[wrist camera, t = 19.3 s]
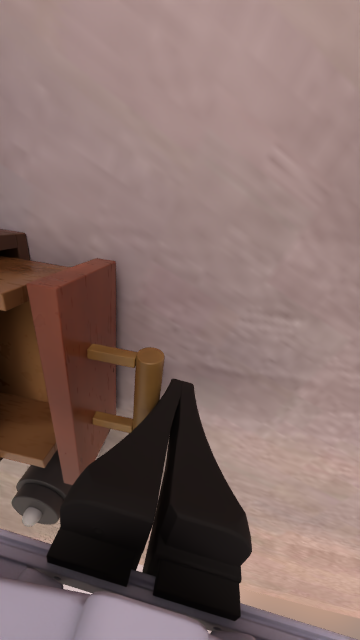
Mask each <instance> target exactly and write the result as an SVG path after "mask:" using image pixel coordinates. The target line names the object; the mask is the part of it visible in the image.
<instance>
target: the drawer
mask: <svg viewBox="0 0 360 640" xmlns="http://www.w3.org/2000/svg"><path fill="white" fill-rule="evenodd" d="M116 364H117V365H122V366H127V367H132V368H135V366H136V370H135V391H134V412H133V419H131V418H126V417H122V416H117V415H116ZM163 366H164V354H163V352H162V351H161V350H159V349H157V348H151V347H148V348H143V349H141V350H139V351H138V352H133V351H128V350H123V349H118V348H116V262H115V261H110V260H104V259H98V258H96V259H93V260H90V261H88V262H85V263H82V264H79V265H76V266H74V267H65V266H59V265H53V264H47V263H41V262H35V261H30V260H24V259H18V258H12V257H6V256H0V457H1V458H5V459H9V460H14V461H18V462H22V463H26V464H30V465H34V466H38V467H42V468H45V467H46V465H47V464H48V462H49V461H50V459H51V458H52V456H53V455H54V454H55V452H56V451H57V449H58V454H59V459H60V465H61V470H62V475H63V480H64V483H66V484H70V485H73V484H74V482H75V481H76V480H77V478H78V477H79V476H80V474H81V473H82V472H83V471H84V470H85V468H86V467H87V466H88V465H89V464H91V463H92V462H94V461H95V459H96V457H97V455H98V453H99V451H100V449H101V447H102V445H103V443H104V441H105V439H106V437H107V435H108V433H109V431H110V429H114V430H119V431H123V432H128V433H130V432H132V431H133V430H134V429H135V428H136V427H137V426H138V425H139V424H140V423H141V422H142V421H143V420H144V419H145V417H146V416H147V415H148V414H149V413H150V412H151V410H152V409H153V408H154V407H155V406H156V404H157V403H158V402H159V400H160V391H161V383H162V374H163Z"/></svg>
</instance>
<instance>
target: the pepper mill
mask: <svg viewBox="0 0 360 640" xmlns="http://www.w3.org/2000/svg"><path fill="white" fill-rule="evenodd" d="M71 487H72V485H70V484H66V483H64V480H63V475H62V470H61V465H60V459H59V454H58V449H57V451H56V452H55V454H54V455H53V456H52V458H51V459H50V461H49V462H48V464H47V465H46V467H45V468H42V467H38V466H34V465H31V466H30V467H29V468H28V470H27V471H26V472H25V474H24V475H23V476H22V478H21V479H20V480H19V482H18V483H17V486H16V488H17V491H18V492H17V494H16V495H15V497H14V498H13V500H12V506H13V507H14V509H15V510H16V511H17V512H18V513H19V514H20V515H22V516H23V517H22V521H23V524H24V525H25V526H28V527H29V526H33V525H35V524H36V523H41V524H54V523H56V522H57V521H58V520H59V518H60V507H61V505H62V503H63V501H64V499H65V497H66V495H67V493H68V492H69V490H70V488H71Z"/></svg>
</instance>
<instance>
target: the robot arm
mask: <svg viewBox="0 0 360 640" xmlns="http://www.w3.org/2000/svg"><path fill="white" fill-rule="evenodd" d="M169 435H170V436H169ZM168 440H169V444H168ZM167 445H168V452H167V459H166V466H165V472H164V476H163V481H162V486H161V490H160V484H161V479H162V473H163V467H164V462H165V456H166V451H167ZM159 490H160V495H159ZM158 496H159V500H158ZM157 503H158V504H157ZM156 508H157V509H156ZM155 512H156V513H155ZM154 517H155V518H154ZM60 524H61V527H60V529H59V531H58V533H57V535H56V537H55V539H54V541H53V543H52V544H49V543H45V542H42V541H39V540H36V539H32V538H29V537H26V536H23V535H20V534H16V533H13V532H10V531H7V530H3V529H0V640H357V639H354V638H351V637H348V636H345V635H341V634H338V633H335V632H332V631H329V630H325V629H322V628H319V627H316V626H312V625H309V624H305V623H303V622H299V621H296V620H293V619H290V618H287V617H283V616H280V615H277V614H274V613H271V612H267V611H264V610H261V609H257V608H254V607H251V606H248V605H245V604H242V603H240V592H239V583H240V582H241V565H242V564H243V563H244V562H245V561H246V559H247V558H248V557H249V556H250V554H251V552H252V544H251V536H250V531H249V526H248V522H247V517H246V514H245V512H244V510H243V508H242V507H241V505H240V504H239V502H238V501H237V499H236V497H235V496H234V494H233V492H232V491H231V489H230V487H229V485H228V483H227V482H226V480H225V478H224V476H223V474H222V472H221V470H220V468H219V466H218V464H217V462H216V460H215V458H214V456H213V453H212V451H211V449H210V446H209V444H208V441H207V439H206V436H205V433H204V430H203V427H202V424H201V420H200V417H199V413H198V409H197V405H196V399H195V393H194V385H193V384H192V383H188V382H184V381H181V380H177V379H171V382H170V384H169V386H168V388H167V390H166V391H165V393H164V395H163V396H162V397H161V399H160V400H159V402H158V403H157V404H156V406H155V407H154V408H153V409H152V410H151V412H150V413H149V414H148V415H147V416H146V417H145V419H144V420H143V421H142V422H141V423H140V424H139V425H138V426H137V427H136V428H135V429H134V430H133V431H132V432H130V433H129V434H128V435H127V436H126V437H125V438H124V439H123V440H121V441H120V442H119V443H118V444H116V445H115V446H114V447H113V448H112V449H110V450H109V451H108V452H106V453H105V454H104V455H102V456H101V457H99V458H98V459H96V460H95V461H94V462H92V463H91V464H89V465H88V466H87V467H86V468H85V470H84V471H83V472H82V473H81V474H80V476H79V477H78V478H77V480H76V481H75V482H74V484H73V485H72V487H71V488H70V490H69V492H68V493H67V495H66V497H65V499H64V501H63V503H62V505H61V507H60ZM152 525H153V527H152ZM151 528H152V532H151V536H150V541H149V545H148V549H147V554H146V558H145V563H144V567H143V572H139V571H136V569H137V566H138V563H139V561H140V558H141V555H142V553H143V551H144V548H145V545H146V542H147V540H148V537H149V534H150V531H151ZM63 584H65V585H68V586H72V587H75V588H78V589H81V590H84V591H87V592H90V593H93V594H91V595H90V594H85V593H80V592H75V591H70V590H65V589H63ZM207 630H210V631H212V632H211V633H210V634H209V633H208V631H207Z"/></svg>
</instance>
